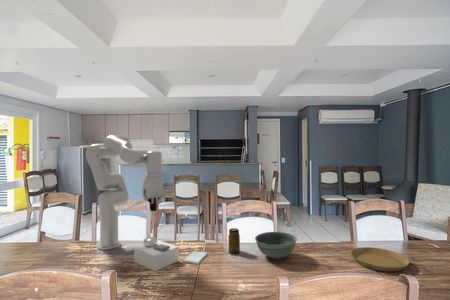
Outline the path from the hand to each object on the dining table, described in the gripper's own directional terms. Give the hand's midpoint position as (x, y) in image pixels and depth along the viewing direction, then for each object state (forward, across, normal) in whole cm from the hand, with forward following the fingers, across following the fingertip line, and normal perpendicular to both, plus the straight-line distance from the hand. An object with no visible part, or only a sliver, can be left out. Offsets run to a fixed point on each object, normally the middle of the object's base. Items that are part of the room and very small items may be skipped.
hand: (153, 210), depth 134 cm
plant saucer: (+20, -64, +91) cm, 113 cm away
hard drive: (+24, -13, +19) cm, 33 cm away
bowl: (+22, -40, +50) cm, 67 cm away
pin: (+23, +2, +2) cm, 23 cm away
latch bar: (+16, +2, +11) cm, 19 cm away
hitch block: (+24, +2, +6) cm, 25 cm away
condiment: (+23, -31, +30) cm, 49 cm away
